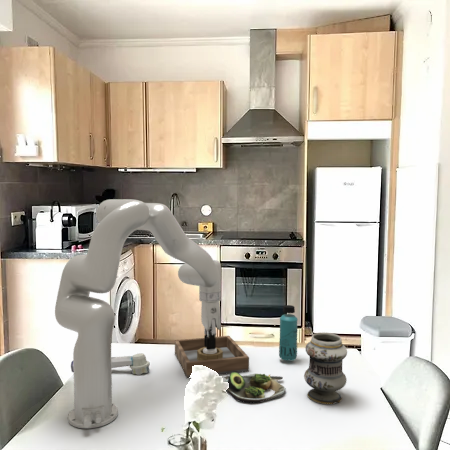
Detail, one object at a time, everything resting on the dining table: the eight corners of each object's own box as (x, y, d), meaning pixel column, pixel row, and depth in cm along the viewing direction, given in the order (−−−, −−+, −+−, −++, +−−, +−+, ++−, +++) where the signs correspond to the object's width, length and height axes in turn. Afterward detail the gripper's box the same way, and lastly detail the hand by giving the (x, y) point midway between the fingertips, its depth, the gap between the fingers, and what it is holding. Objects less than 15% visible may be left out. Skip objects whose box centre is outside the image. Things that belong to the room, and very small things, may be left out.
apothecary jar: (325, 410, 119) (326, 346, 118) (295, 393, 129) (296, 334, 128) (354, 399, 126) (356, 338, 124) (324, 384, 136) (325, 327, 135)
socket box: (248, 371, 145) (248, 357, 145) (186, 378, 139) (186, 363, 139) (228, 348, 167) (229, 335, 167) (174, 353, 161) (174, 340, 161)
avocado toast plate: (269, 373, 145) (269, 359, 145) (300, 395, 129) (300, 380, 129) (216, 383, 137) (216, 369, 136) (242, 408, 121) (242, 392, 120)
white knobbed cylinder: (75, 357, 147) (148, 348, 146) (78, 376, 148) (151, 367, 147) (69, 363, 142) (145, 353, 141) (72, 383, 142) (148, 374, 141)
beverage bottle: (277, 363, 152) (278, 307, 151) (280, 356, 159) (281, 303, 157) (295, 365, 150) (296, 309, 149) (298, 359, 157) (299, 304, 155)
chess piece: (209, 348, 156) (209, 320, 156) (219, 351, 153) (220, 323, 152) (200, 351, 153) (200, 324, 152) (210, 355, 149) (210, 326, 149)
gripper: (226, 300, 145) (226, 354, 146) (214, 290, 160) (214, 339, 162) (205, 302, 143) (204, 356, 144) (194, 291, 158) (194, 341, 159)
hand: (209, 347), depth 153 cm, fingers closed on chess piece
